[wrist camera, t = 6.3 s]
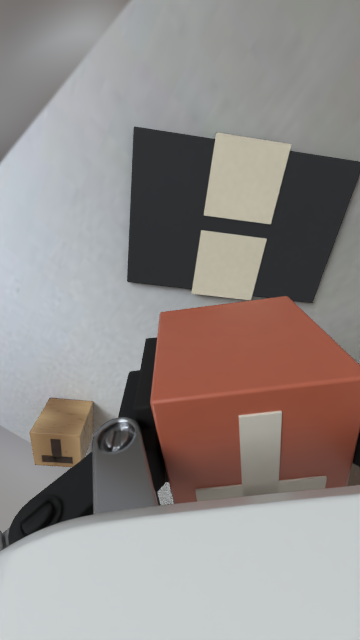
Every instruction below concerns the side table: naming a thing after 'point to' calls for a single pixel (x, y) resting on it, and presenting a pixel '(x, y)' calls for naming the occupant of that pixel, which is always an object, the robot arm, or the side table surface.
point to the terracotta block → (252, 401)
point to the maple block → (62, 432)
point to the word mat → (233, 214)
